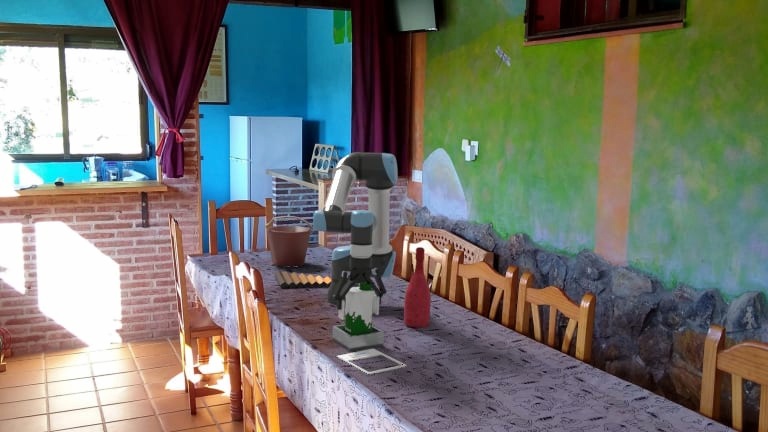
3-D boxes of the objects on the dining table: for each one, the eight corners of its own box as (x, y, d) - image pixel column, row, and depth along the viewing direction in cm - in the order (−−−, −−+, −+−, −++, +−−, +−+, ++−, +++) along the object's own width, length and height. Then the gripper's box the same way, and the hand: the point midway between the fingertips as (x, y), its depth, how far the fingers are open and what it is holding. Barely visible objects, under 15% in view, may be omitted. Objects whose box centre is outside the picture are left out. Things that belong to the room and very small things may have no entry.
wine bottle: (433, 323, 270) (437, 247, 266) (423, 330, 262) (427, 251, 257) (409, 319, 274) (413, 244, 270) (399, 326, 266) (403, 248, 261)
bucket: (259, 266, 358) (260, 217, 355) (273, 258, 380) (273, 212, 376) (305, 269, 354) (307, 220, 351) (317, 261, 376) (318, 215, 372)
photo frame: (373, 348, 237) (406, 364, 223) (373, 351, 237) (406, 367, 223) (336, 355, 228) (368, 372, 214) (336, 358, 229) (368, 376, 214)
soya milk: (375, 342, 242) (377, 285, 239) (351, 345, 238) (353, 287, 235) (364, 335, 250) (366, 280, 247) (340, 337, 245) (342, 281, 243)
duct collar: (364, 335, 252) (365, 321, 252) (383, 346, 241) (384, 332, 241) (332, 340, 246) (332, 326, 245) (349, 351, 235) (350, 336, 234)
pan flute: (274, 276, 339) (280, 289, 315) (274, 269, 339) (280, 282, 315) (325, 275, 346) (335, 288, 322) (325, 269, 345) (335, 280, 321)
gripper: (386, 251, 249) (384, 309, 252) (323, 256, 236) (321, 317, 239) (397, 255, 243) (395, 315, 246) (333, 260, 230) (331, 323, 233)
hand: (358, 316), depth 242 cm, fingers open, 13 cm apart
